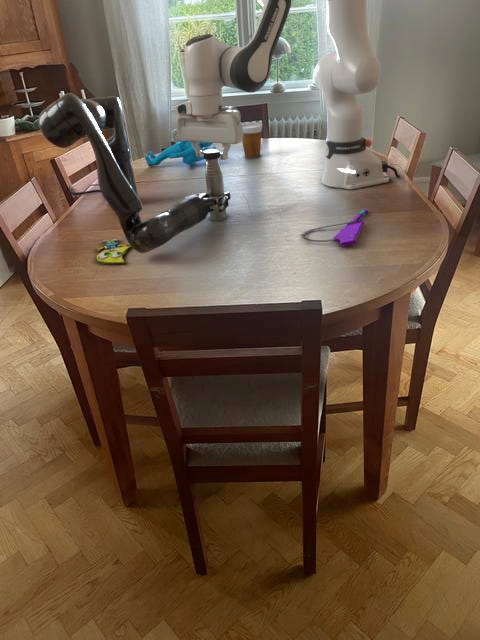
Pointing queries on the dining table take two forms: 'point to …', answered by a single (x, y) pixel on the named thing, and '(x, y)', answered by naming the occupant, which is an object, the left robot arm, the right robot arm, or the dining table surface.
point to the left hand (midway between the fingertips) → (221, 194)
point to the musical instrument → (345, 231)
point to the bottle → (215, 186)
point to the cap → (211, 154)
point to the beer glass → (251, 140)
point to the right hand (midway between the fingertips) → (212, 158)
